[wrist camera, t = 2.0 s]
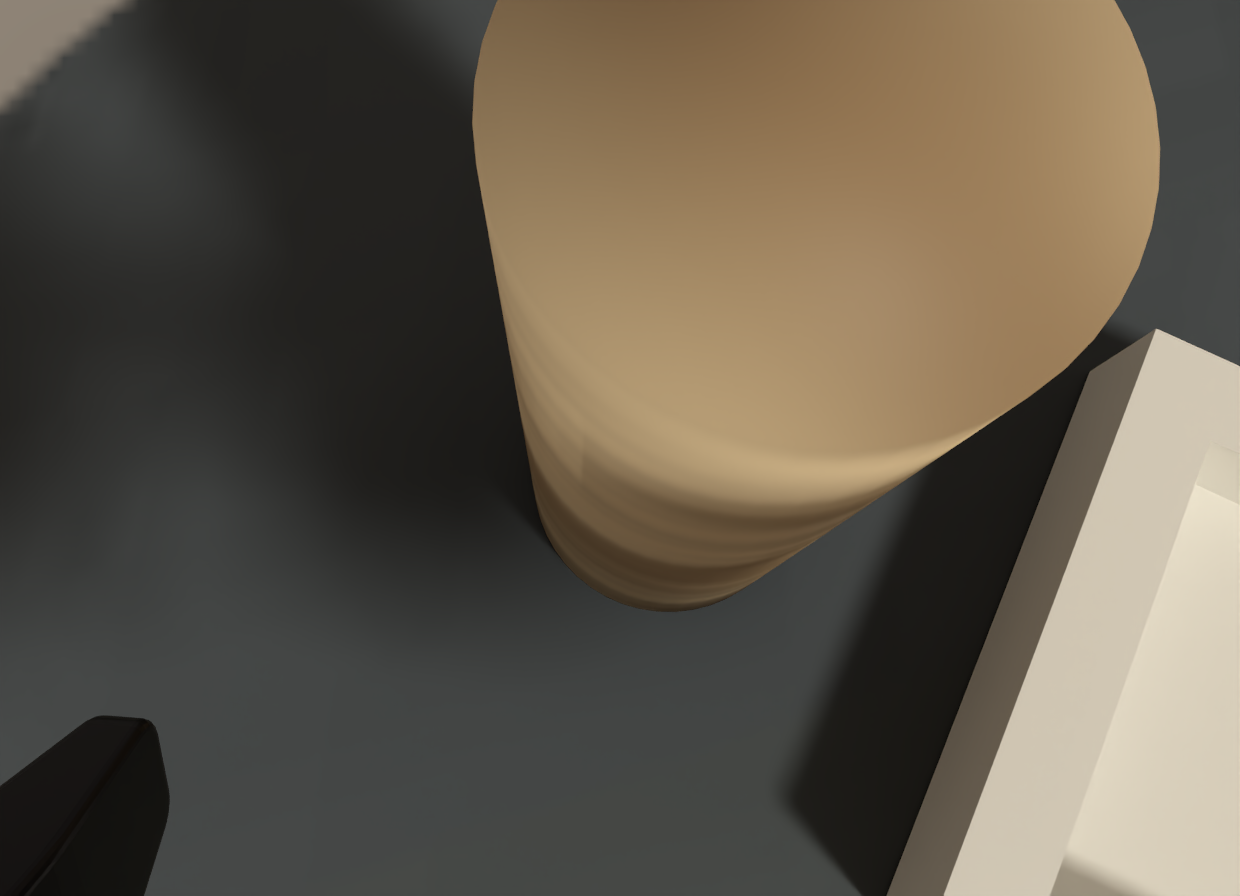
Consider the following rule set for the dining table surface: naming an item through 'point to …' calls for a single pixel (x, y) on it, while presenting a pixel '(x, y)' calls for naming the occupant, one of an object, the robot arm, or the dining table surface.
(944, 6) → the wooden tool handle
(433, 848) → the dining table surface
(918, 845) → the tool holder
